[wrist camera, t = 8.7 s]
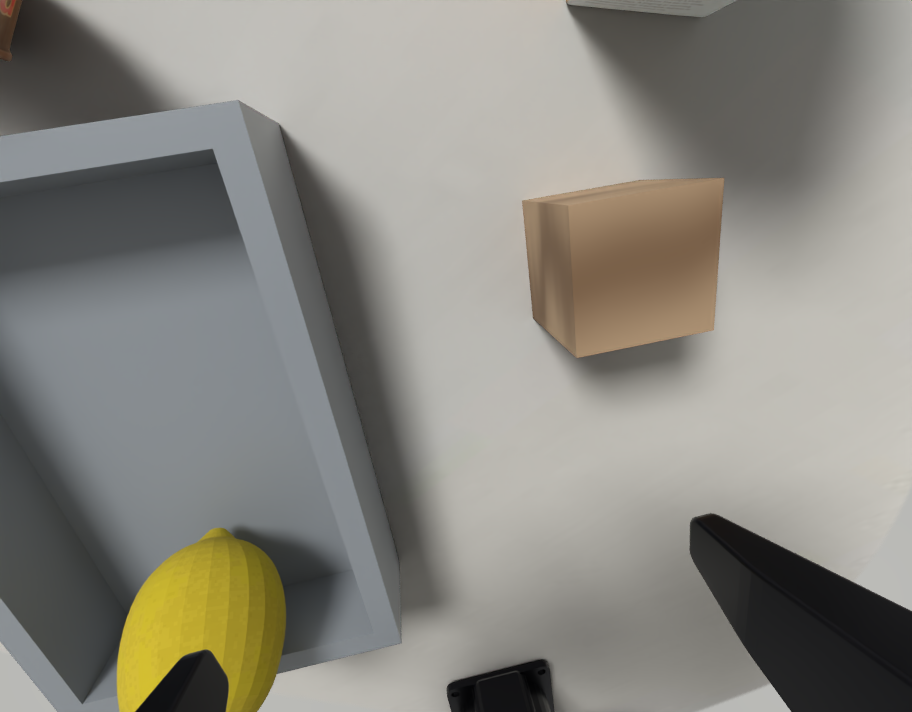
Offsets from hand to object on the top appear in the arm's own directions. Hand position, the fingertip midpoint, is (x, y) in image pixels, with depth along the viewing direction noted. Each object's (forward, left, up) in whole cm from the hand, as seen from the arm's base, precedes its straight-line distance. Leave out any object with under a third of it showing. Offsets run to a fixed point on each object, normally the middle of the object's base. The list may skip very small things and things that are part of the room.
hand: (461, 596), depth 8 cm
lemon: (-5, +10, -11) cm, 16 cm away
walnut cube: (+3, -8, -12) cm, 15 cm away
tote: (-1, +10, -12) cm, 16 cm away
